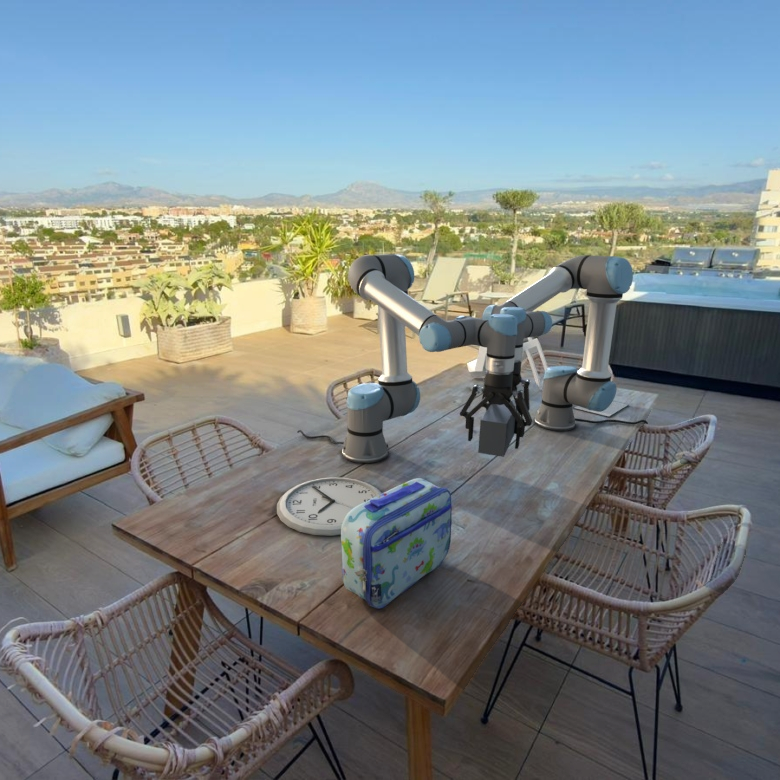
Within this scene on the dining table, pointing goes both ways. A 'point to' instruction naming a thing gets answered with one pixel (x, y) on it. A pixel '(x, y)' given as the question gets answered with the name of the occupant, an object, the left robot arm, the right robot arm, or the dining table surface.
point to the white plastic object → (530, 347)
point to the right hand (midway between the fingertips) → (502, 430)
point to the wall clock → (323, 504)
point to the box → (496, 430)
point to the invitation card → (609, 411)
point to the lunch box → (395, 540)
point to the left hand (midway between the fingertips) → (493, 443)
